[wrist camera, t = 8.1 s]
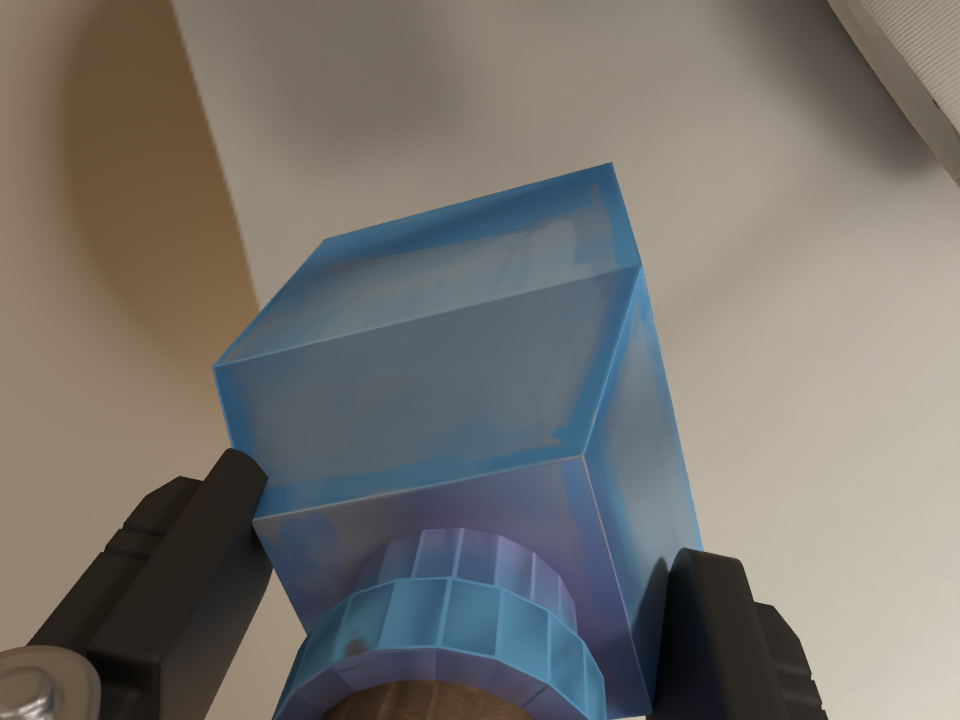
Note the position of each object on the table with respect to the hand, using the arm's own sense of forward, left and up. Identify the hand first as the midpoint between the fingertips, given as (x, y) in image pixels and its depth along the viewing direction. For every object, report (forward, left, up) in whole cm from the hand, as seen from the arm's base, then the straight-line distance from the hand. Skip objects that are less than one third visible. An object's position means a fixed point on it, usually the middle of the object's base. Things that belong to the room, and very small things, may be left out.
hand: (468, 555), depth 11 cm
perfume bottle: (0, 0, -8) cm, 8 cm away
